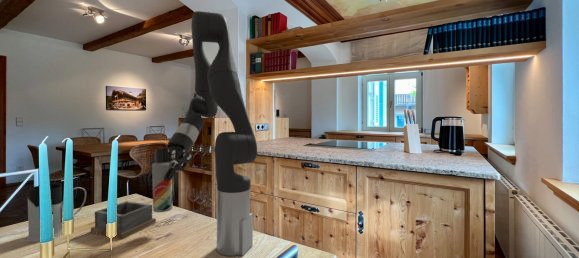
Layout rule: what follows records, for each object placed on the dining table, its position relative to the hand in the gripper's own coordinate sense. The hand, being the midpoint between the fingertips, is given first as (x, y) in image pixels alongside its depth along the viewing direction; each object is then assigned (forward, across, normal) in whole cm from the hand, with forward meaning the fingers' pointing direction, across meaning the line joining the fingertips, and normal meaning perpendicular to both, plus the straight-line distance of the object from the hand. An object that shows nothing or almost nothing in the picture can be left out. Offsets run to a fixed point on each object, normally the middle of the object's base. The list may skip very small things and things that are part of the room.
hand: (158, 179), depth 84 cm
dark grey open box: (+12, -14, +12) cm, 22 cm away
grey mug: (+19, -29, +5) cm, 36 cm away
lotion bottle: (+6, 0, +9) cm, 11 cm away
